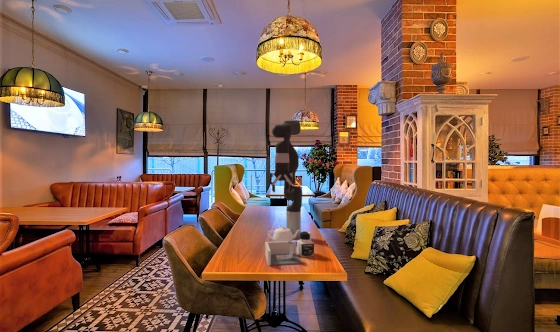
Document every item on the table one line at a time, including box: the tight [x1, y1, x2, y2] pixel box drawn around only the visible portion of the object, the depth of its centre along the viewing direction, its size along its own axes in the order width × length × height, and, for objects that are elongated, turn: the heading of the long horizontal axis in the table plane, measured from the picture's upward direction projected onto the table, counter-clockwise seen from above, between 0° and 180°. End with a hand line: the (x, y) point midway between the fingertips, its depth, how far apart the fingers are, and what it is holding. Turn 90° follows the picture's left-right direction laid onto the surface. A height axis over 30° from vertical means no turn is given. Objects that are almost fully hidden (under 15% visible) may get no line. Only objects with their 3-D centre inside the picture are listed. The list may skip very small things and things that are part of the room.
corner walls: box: [264, 240, 297, 267], centre depth 149 cm, size 15×16×7 cm
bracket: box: [276, 241, 293, 261], centre depth 148 cm, size 8×5×8 cm, turn 98°
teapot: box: [266, 225, 300, 242], centre depth 179 cm, size 20×12×10 cm, turn 89°
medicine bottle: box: [296, 231, 315, 258], centre depth 156 cm, size 7×7×12 cm
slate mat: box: [271, 253, 302, 266], centre depth 148 cm, size 14×15×1 cm
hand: (282, 192), depth 158 cm, fingers open, 8 cm apart
